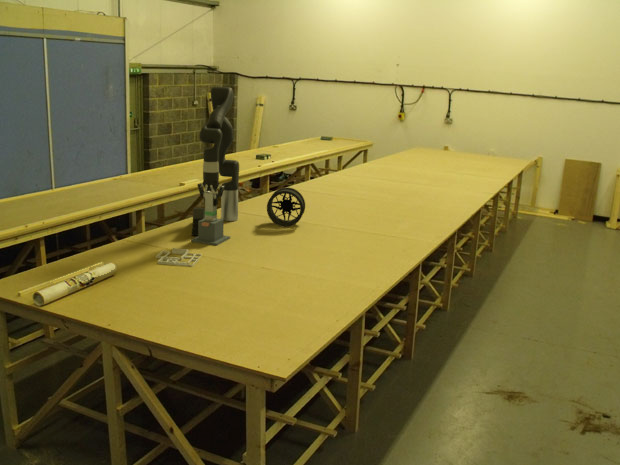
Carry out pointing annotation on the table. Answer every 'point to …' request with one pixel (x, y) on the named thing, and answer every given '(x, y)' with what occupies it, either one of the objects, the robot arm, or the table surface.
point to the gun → (197, 219)
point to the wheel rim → (286, 206)
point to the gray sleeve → (210, 232)
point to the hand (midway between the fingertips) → (210, 205)
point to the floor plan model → (175, 260)
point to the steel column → (210, 208)
